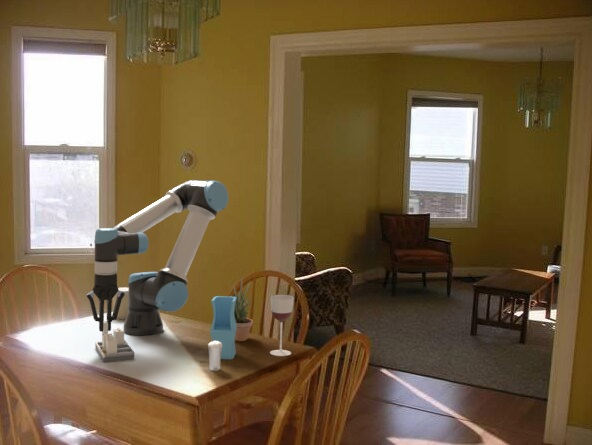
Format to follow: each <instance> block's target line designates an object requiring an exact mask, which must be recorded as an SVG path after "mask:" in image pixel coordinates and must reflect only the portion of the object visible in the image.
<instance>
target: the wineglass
mask: <svg viewBox="0 0 592 445" xmlns="http://www.w3.org/2000/svg"><path fill="white" fill-rule="evenodd" d="M294 300H295V298H294V296H292V295H289V294H274V295H271V296H270V308H271V310H270V311H271V314H272V317H273V318H274V319H276V320H277V321H279V322H280V325H279V326H280V327H279V349H274V350H270V352H269V353H270V355H272V356H275V357H285V356H289V355H292V351H289V350H286V349H283V345H282V344H283V322H284V321H286V320H288V319H289V318H290V317H291V316H292V312H293V309H294Z"/></svg>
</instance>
